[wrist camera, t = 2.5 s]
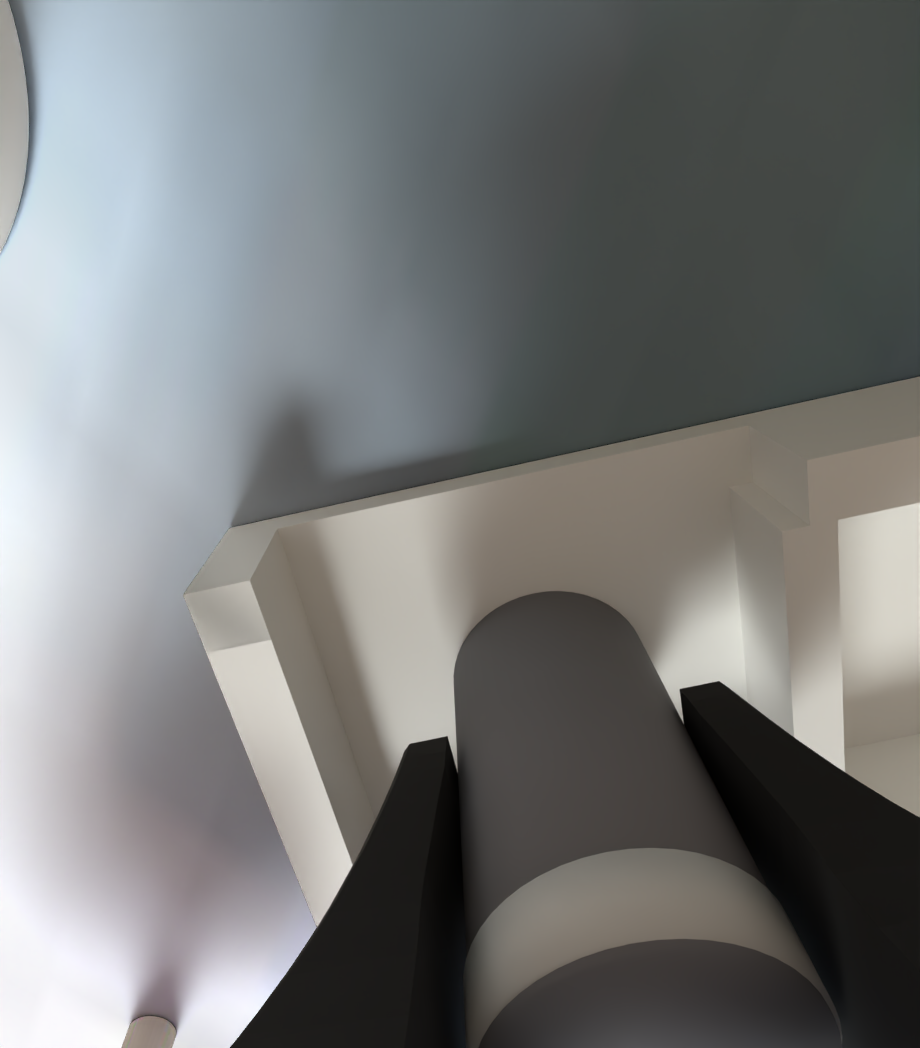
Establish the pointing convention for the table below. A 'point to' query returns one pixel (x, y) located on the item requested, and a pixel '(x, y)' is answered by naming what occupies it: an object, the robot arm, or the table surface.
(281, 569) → the compartment tray
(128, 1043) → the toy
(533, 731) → the plug
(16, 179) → the mug
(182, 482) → the table surface
